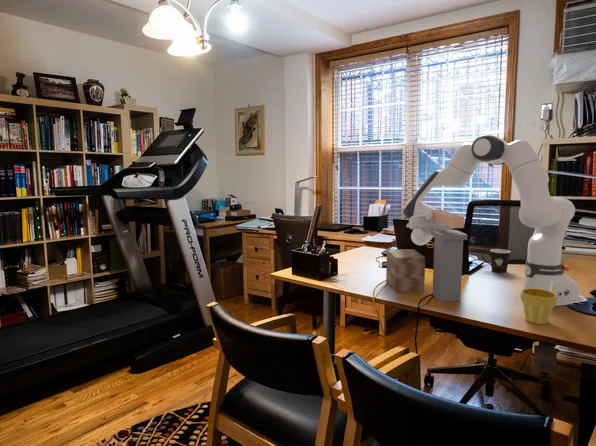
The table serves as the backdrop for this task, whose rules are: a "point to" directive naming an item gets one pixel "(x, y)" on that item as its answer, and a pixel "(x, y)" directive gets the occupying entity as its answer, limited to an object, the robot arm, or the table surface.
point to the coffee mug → (498, 260)
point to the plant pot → (538, 304)
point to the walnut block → (405, 270)
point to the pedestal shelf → (447, 264)
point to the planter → (448, 219)
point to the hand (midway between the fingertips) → (439, 214)
